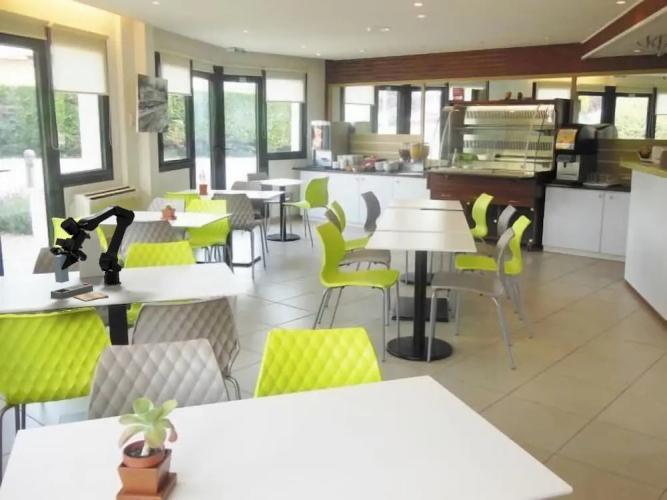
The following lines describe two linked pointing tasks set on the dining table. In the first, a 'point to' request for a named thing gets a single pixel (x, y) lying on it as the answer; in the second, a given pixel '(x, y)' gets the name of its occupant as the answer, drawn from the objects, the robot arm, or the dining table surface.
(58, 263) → the plug
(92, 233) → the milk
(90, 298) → the cork mat
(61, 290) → the gray slotted board
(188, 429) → the dining table surface
